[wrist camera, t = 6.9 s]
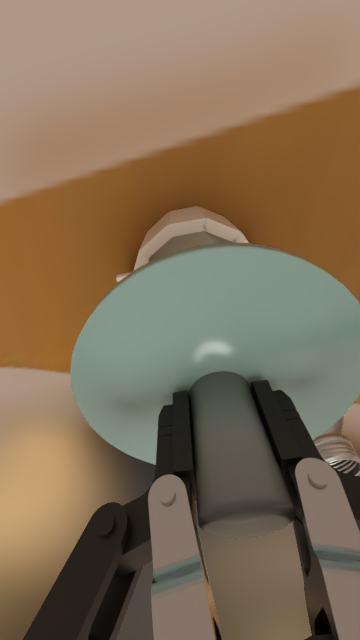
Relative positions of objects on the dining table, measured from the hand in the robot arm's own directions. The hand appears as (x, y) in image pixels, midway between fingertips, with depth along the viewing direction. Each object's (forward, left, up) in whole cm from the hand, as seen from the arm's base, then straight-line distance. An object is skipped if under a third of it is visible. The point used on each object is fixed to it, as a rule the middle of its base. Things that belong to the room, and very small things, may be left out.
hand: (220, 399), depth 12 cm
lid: (0, 0, -1) cm, 1 cm away
